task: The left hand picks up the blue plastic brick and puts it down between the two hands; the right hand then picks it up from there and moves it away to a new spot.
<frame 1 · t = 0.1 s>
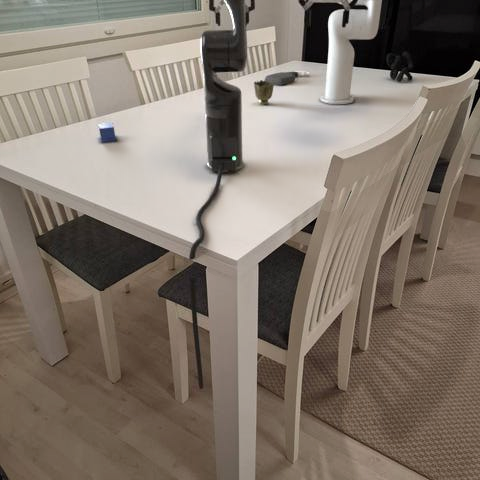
left hand: (232, 25, 142), 29 cm above the table, tool pointing down, fingers open, 8 cm apart
right hand: (325, 26, 121), 31 cm above the table, tool pointing down, fingers open, 9 cm apart
brick: (108, 139, 139), on the table
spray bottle: (287, 79, 205), on the table
cup: (263, 104, 171), on the table
squiggle: (399, 80, 200), on the table
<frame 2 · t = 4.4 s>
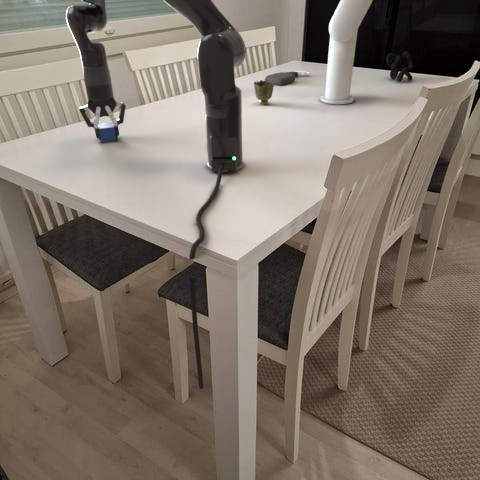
left hand: (108, 137, 139), 1 cm above the table, tool pointing down, fingers closed on brick, 4 cm apart
brick: (108, 139, 139), on the table, touching left hand
everything else where it was.
when the left hand's fingers open (1 cm above the table, at t = 13.7 s): brick stays where it is, on the table.
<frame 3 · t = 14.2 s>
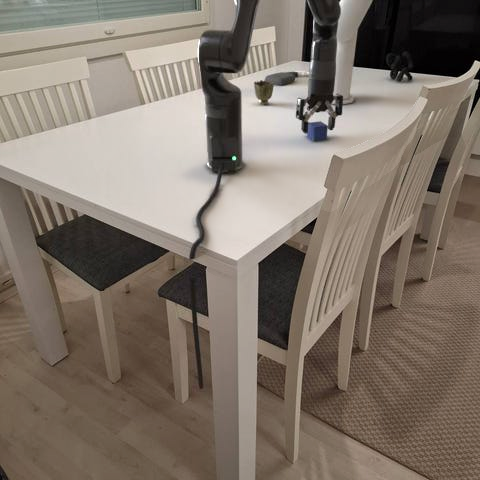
left hand: (317, 131, 136), 2 cm above the table, tool pointing down, fingers open, 8 cm apart
brick: (316, 138, 137), on the table
everything else where it was.
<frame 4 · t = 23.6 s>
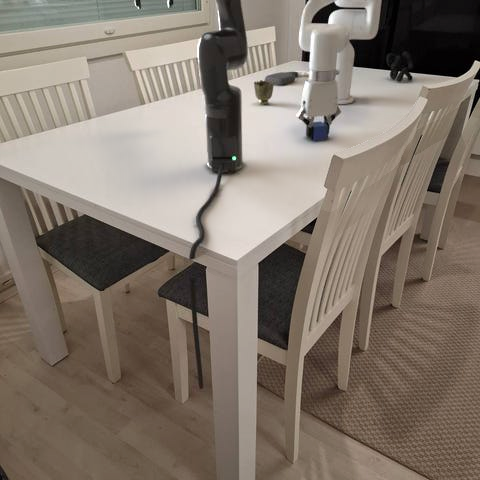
left hand: (154, 8, 126), 36 cm above the table, tool pointing down, fingers open, 8 cm apart
right hand: (317, 137, 137), 0 cm above the table, tool pointing down, fingers closed on brick, 4 cm apart
brick: (316, 138, 137), on the table, touching right hand
everything else where it was.
when the right hand's fingers open (1 cm above the table, at t = 34.2 s): brick stays where it is, on the table.
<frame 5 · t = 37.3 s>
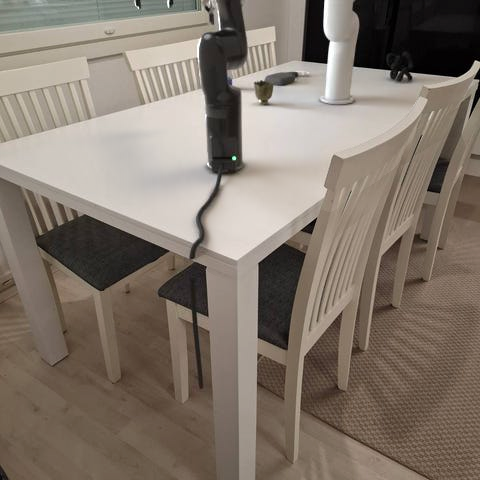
left hand: (154, 8, 126), 36 cm above the table, tool pointing down, fingers open, 8 cm apart
right hand: (223, 23, 179), 25 cm above the table, tool pointing down, fingers open, 9 cm apart
brick: (226, 89, 192), on the table
everything else where it was.
at the end: brick inside the target area (0.1 cm from its centre), on the table; brick tilted 0°; the two hands never held the brick at the same time; the left hand is holding nothing; the right hand is holding nothing; brick at rest at the end (0.0 cm/s) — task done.
